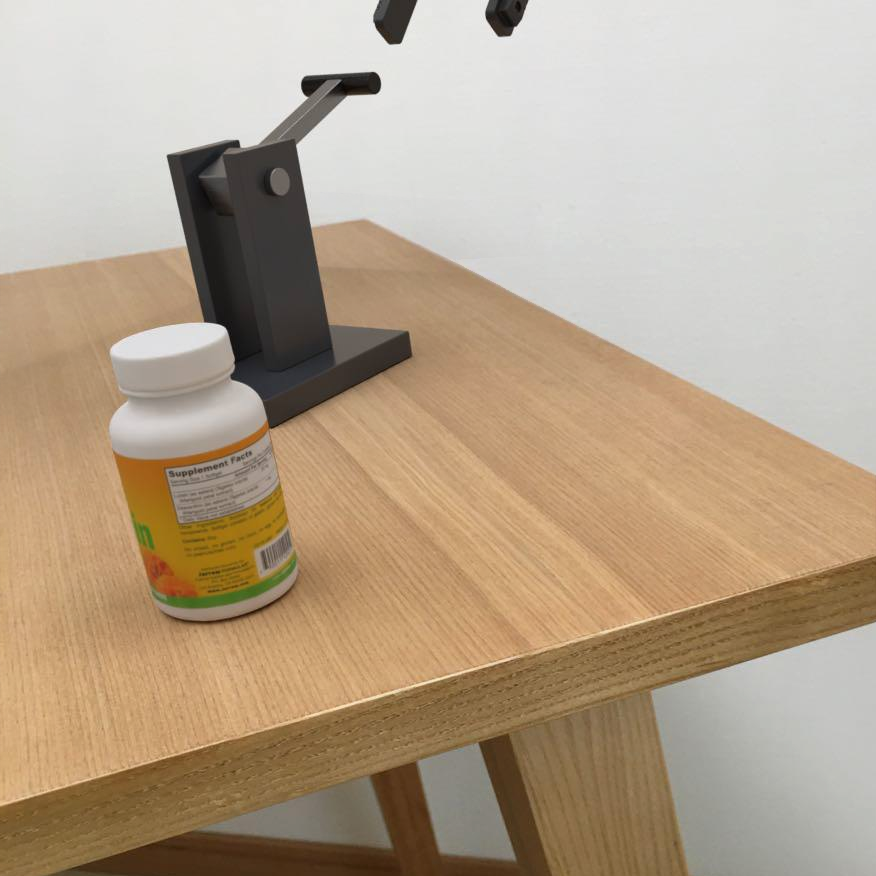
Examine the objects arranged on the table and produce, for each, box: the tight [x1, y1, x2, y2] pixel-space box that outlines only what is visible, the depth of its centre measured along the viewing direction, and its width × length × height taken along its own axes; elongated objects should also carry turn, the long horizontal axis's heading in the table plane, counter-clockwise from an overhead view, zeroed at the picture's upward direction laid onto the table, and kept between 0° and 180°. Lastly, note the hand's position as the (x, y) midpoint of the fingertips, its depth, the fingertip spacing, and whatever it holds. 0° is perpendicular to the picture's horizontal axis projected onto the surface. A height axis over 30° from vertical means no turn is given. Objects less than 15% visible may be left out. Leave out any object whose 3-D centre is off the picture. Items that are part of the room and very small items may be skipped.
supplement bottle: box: [108, 322, 299, 622], centre depth 44 cm, size 5×5×10 cm
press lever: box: [198, 71, 382, 216], centre depth 67 cm, size 12×5×2 cm, turn 149°
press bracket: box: [166, 138, 413, 428], centre depth 66 cm, size 12×10×13 cm
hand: (440, 32), depth 76 cm, fingers open, 8 cm apart
